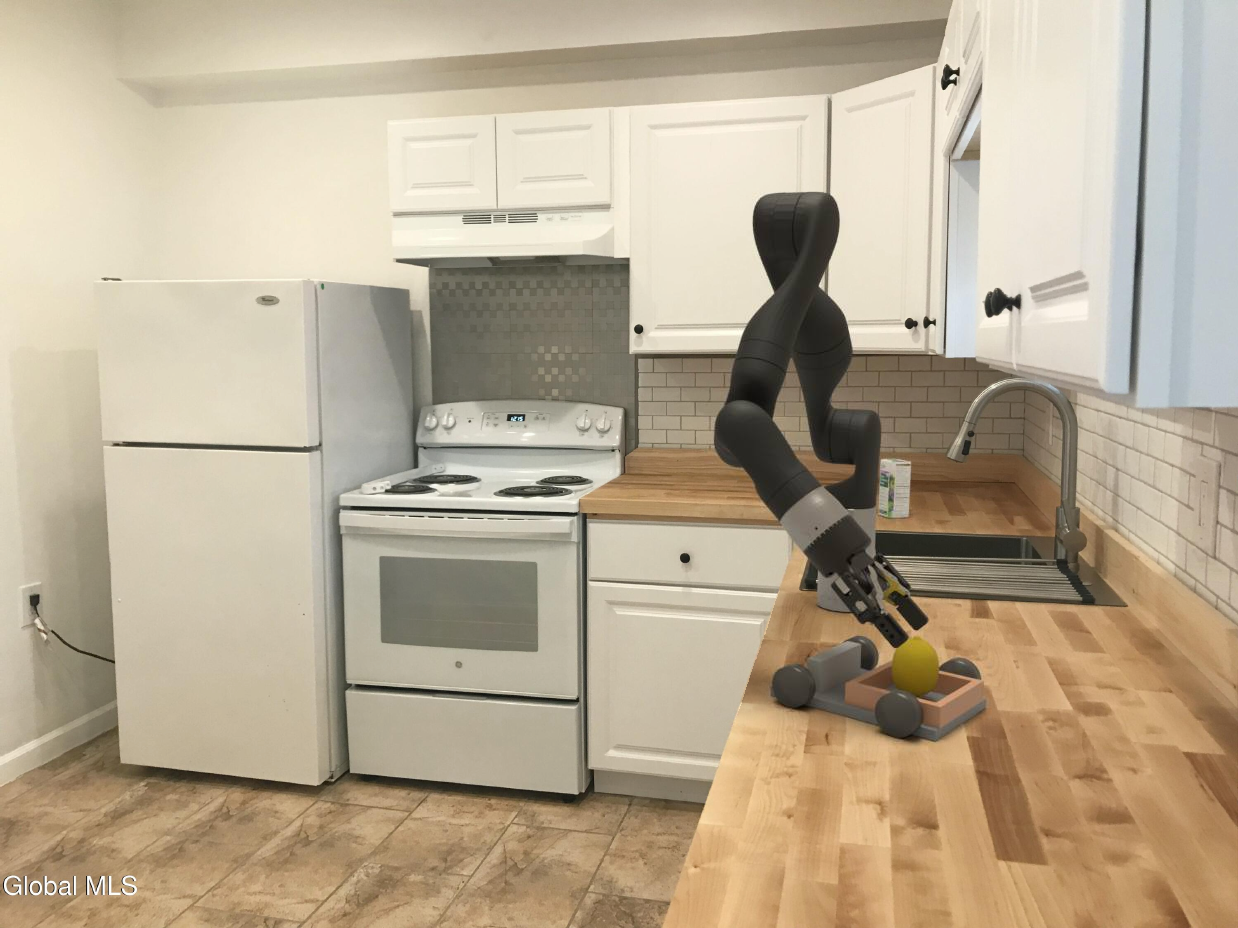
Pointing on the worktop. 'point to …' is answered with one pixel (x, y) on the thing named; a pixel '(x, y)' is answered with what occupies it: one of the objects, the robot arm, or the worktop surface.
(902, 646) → the lemon
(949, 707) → the chassis
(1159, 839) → the worktop surface
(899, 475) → the syrup box
